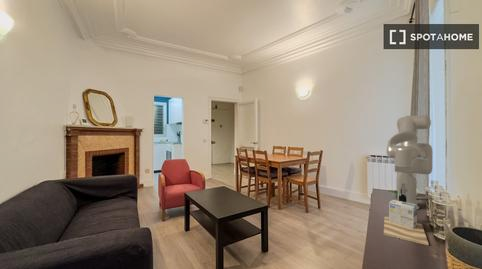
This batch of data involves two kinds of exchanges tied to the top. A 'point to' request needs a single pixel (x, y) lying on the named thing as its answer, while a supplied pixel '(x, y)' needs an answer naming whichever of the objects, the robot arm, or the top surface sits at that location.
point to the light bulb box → (403, 213)
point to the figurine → (395, 192)
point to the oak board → (405, 232)
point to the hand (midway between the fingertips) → (402, 203)
